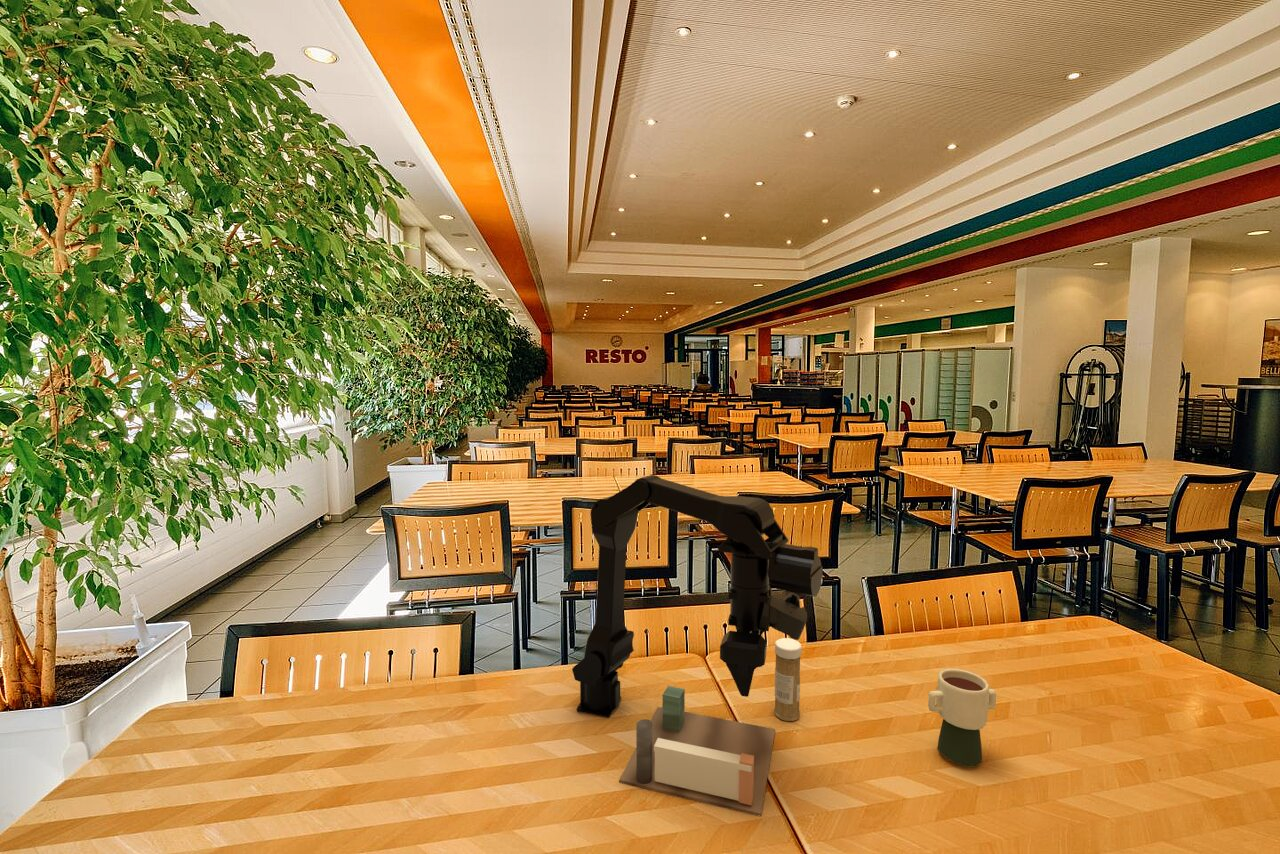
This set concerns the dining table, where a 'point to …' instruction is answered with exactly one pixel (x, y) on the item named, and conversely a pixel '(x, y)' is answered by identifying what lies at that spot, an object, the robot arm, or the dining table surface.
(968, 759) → the character mug
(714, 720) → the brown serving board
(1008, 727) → the dining table surface
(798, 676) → the sprinkles bottle
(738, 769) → the orange and cream block
